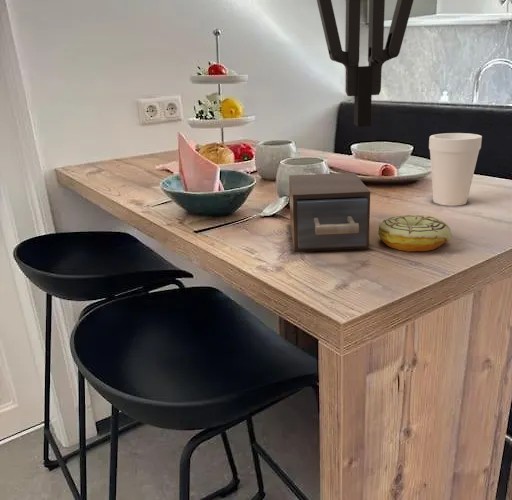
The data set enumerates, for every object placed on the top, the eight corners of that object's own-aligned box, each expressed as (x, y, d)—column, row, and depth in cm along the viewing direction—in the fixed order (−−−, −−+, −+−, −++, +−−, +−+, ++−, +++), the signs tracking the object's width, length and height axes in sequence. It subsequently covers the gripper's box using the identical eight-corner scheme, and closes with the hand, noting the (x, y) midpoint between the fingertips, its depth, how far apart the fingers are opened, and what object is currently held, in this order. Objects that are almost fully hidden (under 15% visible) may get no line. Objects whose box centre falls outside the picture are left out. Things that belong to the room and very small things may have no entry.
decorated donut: (464, 247, 76) (466, 223, 75) (406, 259, 73) (408, 235, 72) (419, 229, 86) (421, 207, 84) (366, 239, 82) (366, 217, 81)
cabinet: (368, 248, 78) (370, 191, 75) (294, 251, 78) (292, 194, 75) (353, 221, 92) (354, 172, 88) (290, 224, 92) (289, 175, 89)
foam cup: (470, 209, 95) (477, 140, 91) (421, 205, 100) (425, 139, 95) (477, 197, 103) (484, 133, 98) (431, 194, 107) (435, 132, 103)
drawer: (373, 259, 71) (375, 209, 69) (300, 262, 71) (299, 213, 69) (352, 220, 89) (353, 180, 87) (294, 223, 89) (293, 183, 87)
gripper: (421, -106, 54) (409, 119, 62) (300, -98, 54) (304, 124, 62) (444, -132, 47) (427, 126, 55) (305, -122, 47) (309, 131, 55)
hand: (362, 125), depth 59 cm, fingers closed
